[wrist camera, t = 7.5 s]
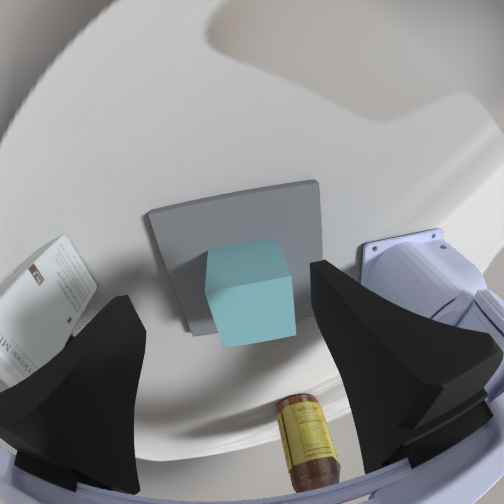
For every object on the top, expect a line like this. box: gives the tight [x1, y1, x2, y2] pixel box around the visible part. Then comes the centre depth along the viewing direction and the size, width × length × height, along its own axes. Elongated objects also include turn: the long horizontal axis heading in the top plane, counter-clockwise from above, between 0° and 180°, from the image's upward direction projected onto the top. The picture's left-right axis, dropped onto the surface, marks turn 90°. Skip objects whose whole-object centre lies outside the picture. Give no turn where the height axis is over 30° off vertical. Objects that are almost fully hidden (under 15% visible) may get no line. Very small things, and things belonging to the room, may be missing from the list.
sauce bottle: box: [277, 394, 340, 493], centre depth 25 cm, size 6×6×20 cm
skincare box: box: [0, 234, 97, 388], centre depth 15 cm, size 6×4×12 cm
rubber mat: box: [148, 179, 323, 337], centre depth 21 cm, size 12×12×1 cm
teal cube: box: [205, 238, 296, 348], centre depth 19 cm, size 5×5×5 cm
